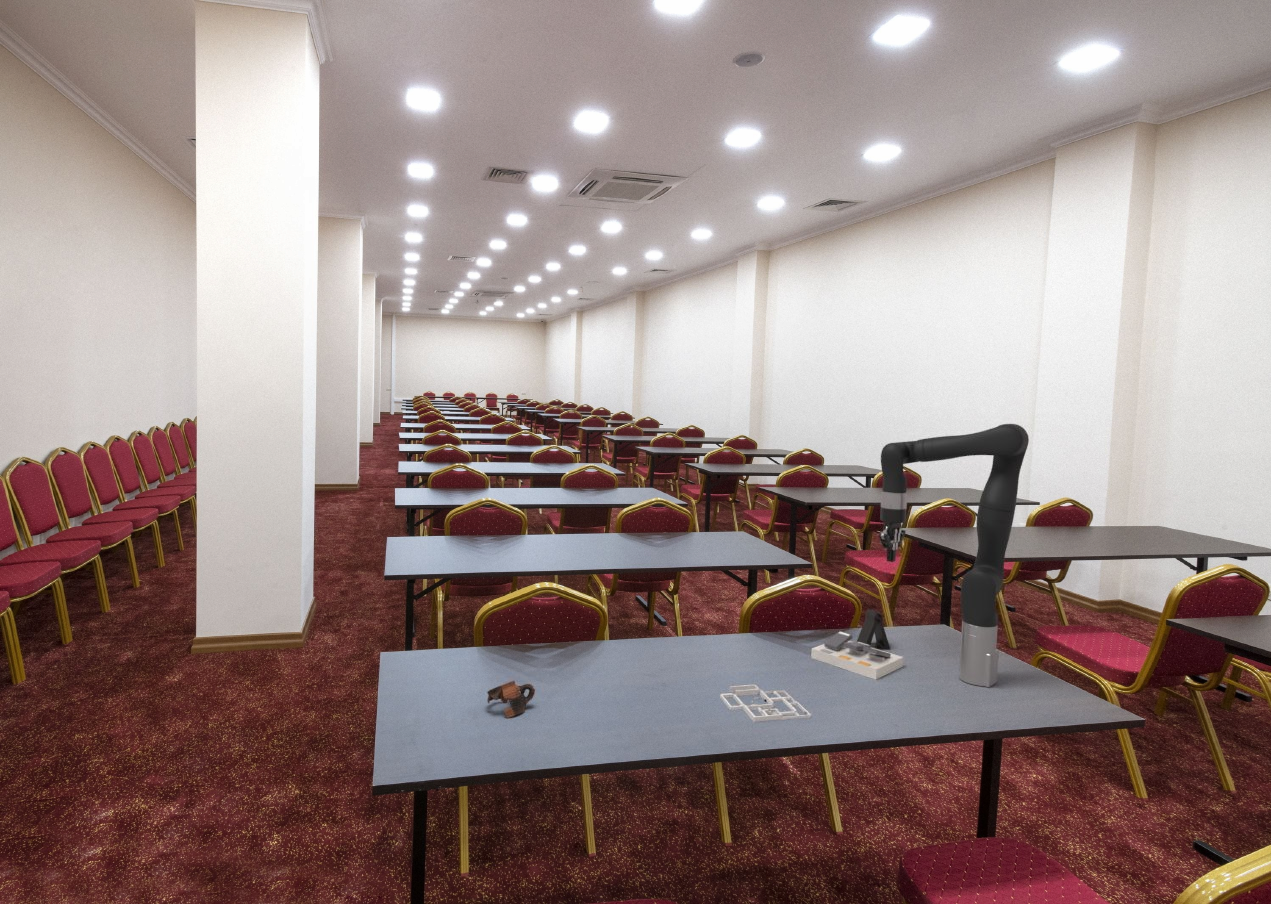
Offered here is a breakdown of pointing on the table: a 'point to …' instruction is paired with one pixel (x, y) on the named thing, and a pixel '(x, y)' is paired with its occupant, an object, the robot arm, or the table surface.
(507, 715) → the pottery mug
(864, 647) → the rocker
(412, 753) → the table surface
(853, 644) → the block
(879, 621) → the phone stand
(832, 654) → the switch unit
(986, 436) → the robot arm
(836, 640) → the block
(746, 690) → the floor plan model
